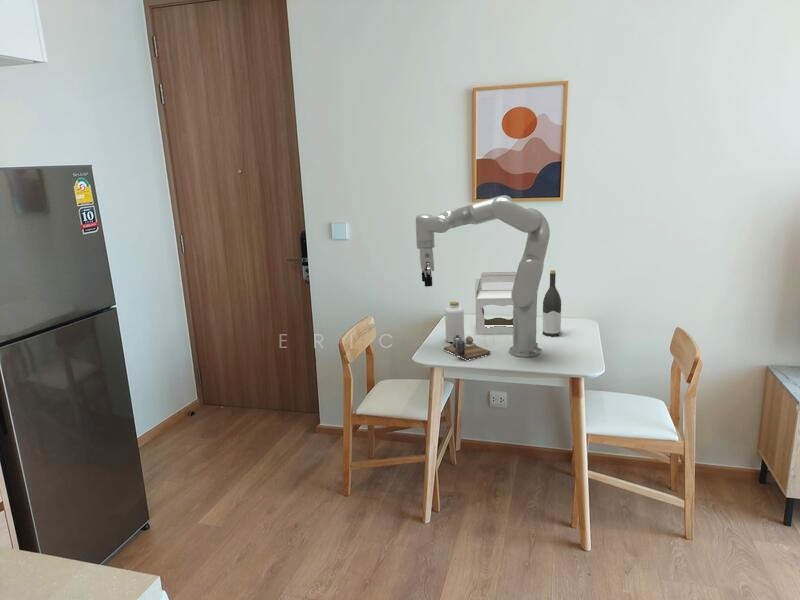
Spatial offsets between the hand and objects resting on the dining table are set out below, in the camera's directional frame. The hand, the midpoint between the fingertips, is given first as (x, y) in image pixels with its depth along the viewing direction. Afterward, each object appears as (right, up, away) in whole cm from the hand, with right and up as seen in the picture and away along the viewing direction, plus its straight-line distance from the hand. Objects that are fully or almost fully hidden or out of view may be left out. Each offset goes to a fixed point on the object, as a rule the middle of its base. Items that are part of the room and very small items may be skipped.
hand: (427, 283), depth 243 cm
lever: (+14, -28, -4) cm, 31 cm away
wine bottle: (+58, -23, +17) cm, 64 cm away
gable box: (+36, -21, +27) cm, 49 cm away
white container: (+13, -26, +14) cm, 32 cm away
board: (+17, -29, -2) cm, 34 cm away
